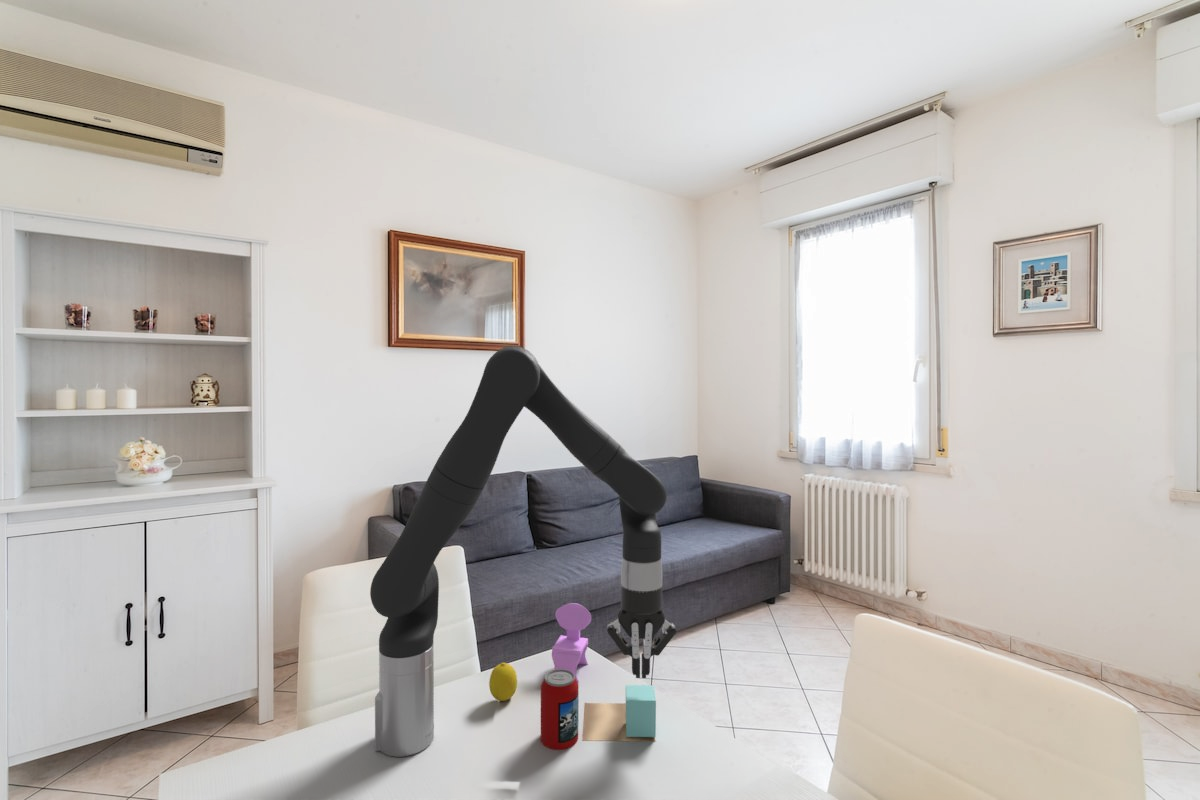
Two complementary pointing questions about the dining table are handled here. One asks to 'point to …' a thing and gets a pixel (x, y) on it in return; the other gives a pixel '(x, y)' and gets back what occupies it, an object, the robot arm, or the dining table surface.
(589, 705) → the board
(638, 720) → the aqua foam cube
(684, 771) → the dining table surface
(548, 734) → the beverage can
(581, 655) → the toy chair
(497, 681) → the lemon
